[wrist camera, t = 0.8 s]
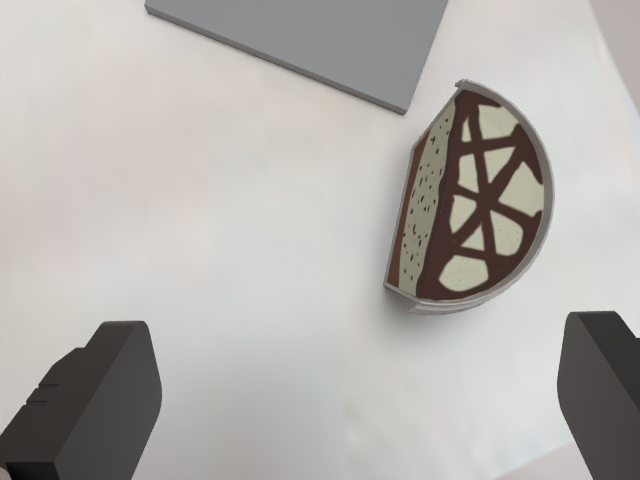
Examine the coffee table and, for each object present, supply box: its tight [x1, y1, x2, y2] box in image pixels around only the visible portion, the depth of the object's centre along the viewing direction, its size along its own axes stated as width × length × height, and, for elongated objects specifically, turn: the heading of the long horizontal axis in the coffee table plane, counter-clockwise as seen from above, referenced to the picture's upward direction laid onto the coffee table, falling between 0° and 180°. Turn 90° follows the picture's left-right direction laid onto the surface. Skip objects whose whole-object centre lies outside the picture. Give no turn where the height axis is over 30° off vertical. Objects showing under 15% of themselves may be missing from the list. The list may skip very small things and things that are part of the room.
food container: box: [383, 79, 555, 315], centre depth 33 cm, size 12×6×10 cm, turn 167°
